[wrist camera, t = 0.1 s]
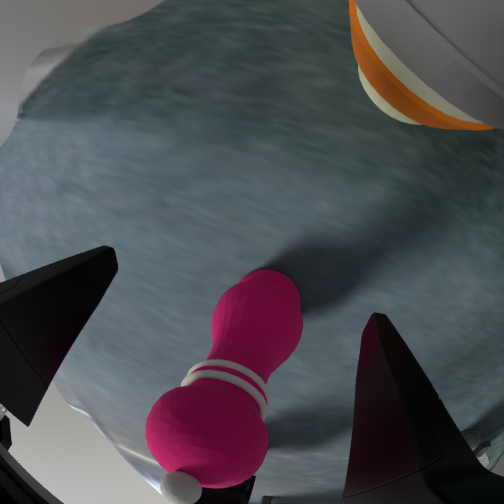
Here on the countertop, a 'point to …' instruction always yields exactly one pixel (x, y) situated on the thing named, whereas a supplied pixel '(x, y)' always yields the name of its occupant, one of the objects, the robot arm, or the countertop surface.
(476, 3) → the reusable coffee cup
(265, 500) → the planter
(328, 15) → the countertop surface
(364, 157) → the countertop surface
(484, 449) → the steel pot
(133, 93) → the countertop surface
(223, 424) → the pepper mill
